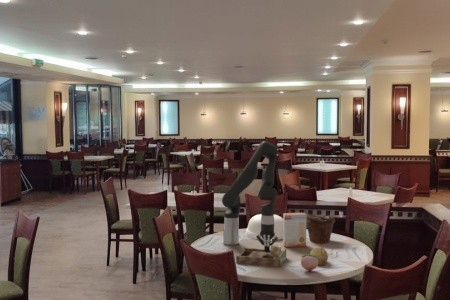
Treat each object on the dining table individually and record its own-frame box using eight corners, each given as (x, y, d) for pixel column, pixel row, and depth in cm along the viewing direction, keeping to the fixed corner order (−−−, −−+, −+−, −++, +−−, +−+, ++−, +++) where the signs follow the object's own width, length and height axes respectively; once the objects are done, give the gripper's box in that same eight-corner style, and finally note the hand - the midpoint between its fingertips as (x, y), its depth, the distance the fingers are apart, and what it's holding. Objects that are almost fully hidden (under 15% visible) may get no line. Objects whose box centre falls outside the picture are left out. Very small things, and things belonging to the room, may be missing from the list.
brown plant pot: (341, 241, 327) (341, 214, 326) (319, 246, 316) (319, 218, 315) (321, 236, 342) (321, 210, 341) (299, 240, 330) (299, 214, 329)
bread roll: (323, 258, 289) (323, 244, 289) (330, 266, 275) (330, 251, 274) (307, 258, 289) (307, 245, 288) (313, 266, 274) (313, 252, 273)
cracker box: (304, 244, 320) (304, 212, 318) (306, 247, 314) (306, 214, 312) (282, 244, 318) (282, 212, 317) (284, 247, 312) (284, 214, 311)
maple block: (270, 255, 284) (270, 247, 283) (272, 253, 288) (272, 244, 288) (279, 256, 282) (279, 247, 282) (281, 254, 287) (281, 245, 287)
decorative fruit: (316, 268, 270) (316, 250, 269) (319, 273, 262) (319, 254, 261) (298, 268, 270) (299, 250, 269) (301, 273, 261) (301, 254, 261)
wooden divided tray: (236, 262, 280) (236, 252, 279) (244, 254, 297) (244, 244, 297) (280, 267, 272) (280, 256, 272) (286, 258, 290) (286, 247, 289)
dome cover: (298, 235, 346) (298, 215, 345) (271, 243, 324) (271, 221, 323) (263, 227, 368) (263, 208, 367) (235, 234, 346) (235, 214, 345)
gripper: (254, 223, 284) (254, 252, 285) (277, 224, 280) (277, 255, 281) (257, 220, 291) (257, 249, 292) (280, 222, 287) (279, 251, 288)
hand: (267, 252), depth 287 cm, fingers closed
